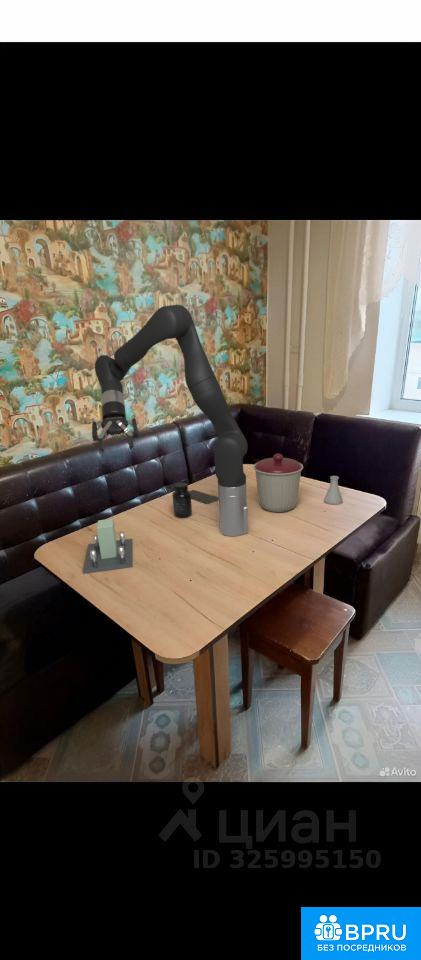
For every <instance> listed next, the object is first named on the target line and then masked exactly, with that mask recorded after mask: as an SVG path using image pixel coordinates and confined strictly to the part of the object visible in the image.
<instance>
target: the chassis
mask: <svg viewBox="0 0 421 960" xmlns="http://www.w3.org/2000/svg"><path fill="white" fill-rule="evenodd" d="M118 535H119V536H118V537H119V539H118V540H117V539H116V542H117V557H112V558H105V559H101V552H100V546H99V540H98V534H95V535H92V541H93V543H89V544H88V545H87V550H86V555H85V557H84V558H85V560H84V564H83V569H82V573H83V574H84V575H85V574H90V573H91V574H92V573H100V572H107V571H108V572H109V571H114V570H115V571H116V570H121V569H122V570H123V569H129V568H134V545H133V544H134V541H133V538H126V537H125V532H124V531H119V533H118Z"/></svg>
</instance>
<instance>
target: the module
mask: <svg viewBox="0 0 421 960" xmlns="http://www.w3.org/2000/svg"><path fill="white" fill-rule="evenodd" d="M114 521H115V520H114V518H109V519H108V518H107V519H101V520H97V527H96V531H97V532H96V533H97V535H98V540H99V546H100V552H101V559H105V558H112V557H117V542H116V541H117V537H116V528H115V522H114Z"/></svg>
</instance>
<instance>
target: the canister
mask: <svg viewBox="0 0 421 960" xmlns="http://www.w3.org/2000/svg"><path fill="white" fill-rule="evenodd" d="M303 465H304V464H302V463H301V462H299V461H298V460H296V459H293V458H288V457H284V456H283V454H281V453H275V454H274V455H273V457H269V458H268V457H267V458H263V459H261V460H259V461H258V462H256V463H255V464H253V465H252V467H253V470H254V471H255V479H256V487H257V494H258V501H259V505H261V507H262V508H263V509H264V510H266V511H267V512H273V513H285V512H289V511H291V510H292V509H294V507H295V506H296V505H297V504H296V503H297V500H298V495H299V490H300V489H299V488H300V481H301V472H302V471H303V469H304V466H303Z"/></svg>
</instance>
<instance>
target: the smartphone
mask: <svg viewBox="0 0 421 960" xmlns="http://www.w3.org/2000/svg"><path fill="white" fill-rule="evenodd" d="M189 491H190V493H191V500H193V501H196V502H200V503H202V504H204V505H209V504H211V503H214V502H215V501H216V502H217V501H219V497H218V496H215V495H213V494H210V493H206V492H205V493H204V492H202V491H199V490H195V489H191V490H189Z"/></svg>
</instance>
